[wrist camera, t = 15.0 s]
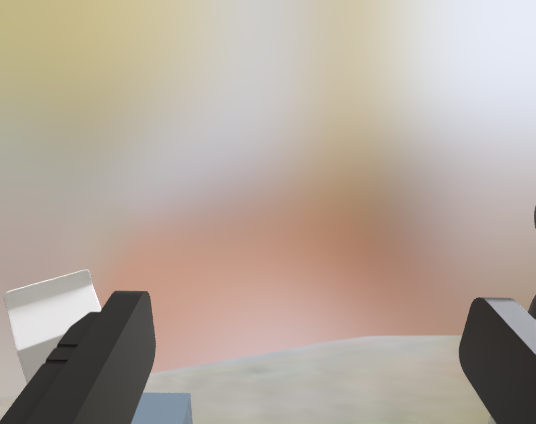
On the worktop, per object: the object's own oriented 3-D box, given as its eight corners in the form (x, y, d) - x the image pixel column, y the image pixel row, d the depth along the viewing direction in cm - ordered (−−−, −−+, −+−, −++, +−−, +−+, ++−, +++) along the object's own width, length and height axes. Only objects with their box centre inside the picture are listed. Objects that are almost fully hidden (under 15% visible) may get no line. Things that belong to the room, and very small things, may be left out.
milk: (55, 460, 37) (-3, 274, 29) (116, 427, 41) (80, 253, 32) (67, 514, 33) (2, 314, 24) (135, 472, 36) (98, 284, 28)
